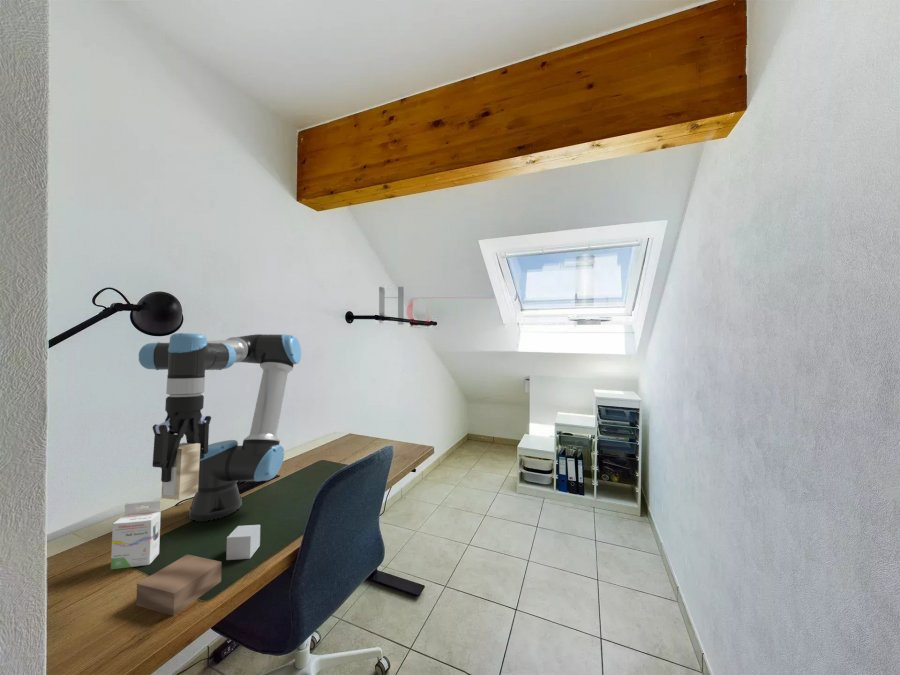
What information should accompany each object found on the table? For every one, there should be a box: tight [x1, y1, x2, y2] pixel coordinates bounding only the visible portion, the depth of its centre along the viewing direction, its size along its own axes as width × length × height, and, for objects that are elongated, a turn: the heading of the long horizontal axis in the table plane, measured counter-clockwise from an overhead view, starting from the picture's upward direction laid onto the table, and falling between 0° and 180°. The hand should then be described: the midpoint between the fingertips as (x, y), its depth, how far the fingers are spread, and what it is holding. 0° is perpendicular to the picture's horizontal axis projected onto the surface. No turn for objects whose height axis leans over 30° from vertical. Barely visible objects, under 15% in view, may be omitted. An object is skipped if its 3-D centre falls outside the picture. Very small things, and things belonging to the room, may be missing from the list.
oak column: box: [161, 442, 200, 501], centre depth 84 cm, size 5×5×12 cm
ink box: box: [110, 500, 162, 570], centre depth 90 cm, size 9×5×15 cm, turn 105°
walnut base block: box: [135, 553, 223, 617], centre depth 78 cm, size 11×11×5 cm
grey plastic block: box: [225, 524, 261, 561], centre depth 94 cm, size 6×6×6 cm
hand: (180, 489), depth 83 cm, fingers closed on oak column, 5 cm apart
